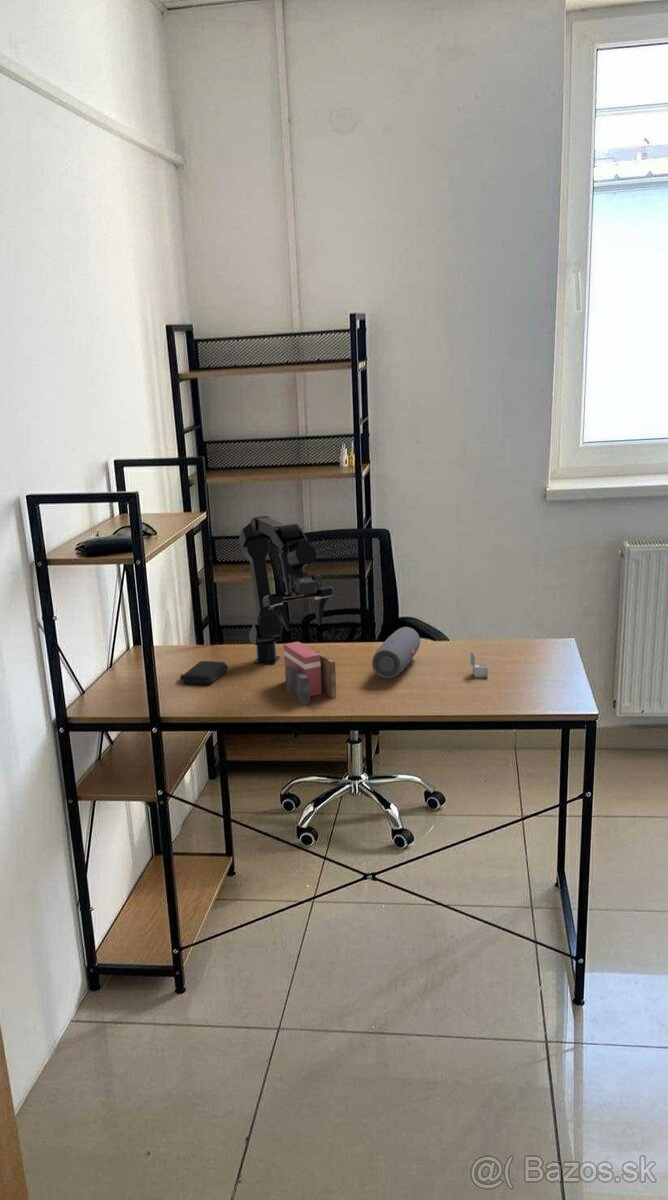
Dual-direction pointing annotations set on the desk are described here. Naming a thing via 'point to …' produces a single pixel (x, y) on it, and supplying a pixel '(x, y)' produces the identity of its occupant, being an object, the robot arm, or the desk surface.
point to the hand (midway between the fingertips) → (304, 628)
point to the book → (304, 664)
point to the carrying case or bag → (204, 673)
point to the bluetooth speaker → (396, 652)
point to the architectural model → (478, 667)
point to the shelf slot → (300, 681)
